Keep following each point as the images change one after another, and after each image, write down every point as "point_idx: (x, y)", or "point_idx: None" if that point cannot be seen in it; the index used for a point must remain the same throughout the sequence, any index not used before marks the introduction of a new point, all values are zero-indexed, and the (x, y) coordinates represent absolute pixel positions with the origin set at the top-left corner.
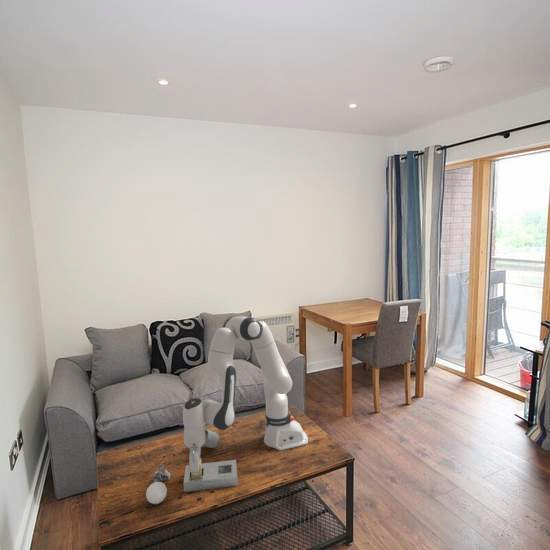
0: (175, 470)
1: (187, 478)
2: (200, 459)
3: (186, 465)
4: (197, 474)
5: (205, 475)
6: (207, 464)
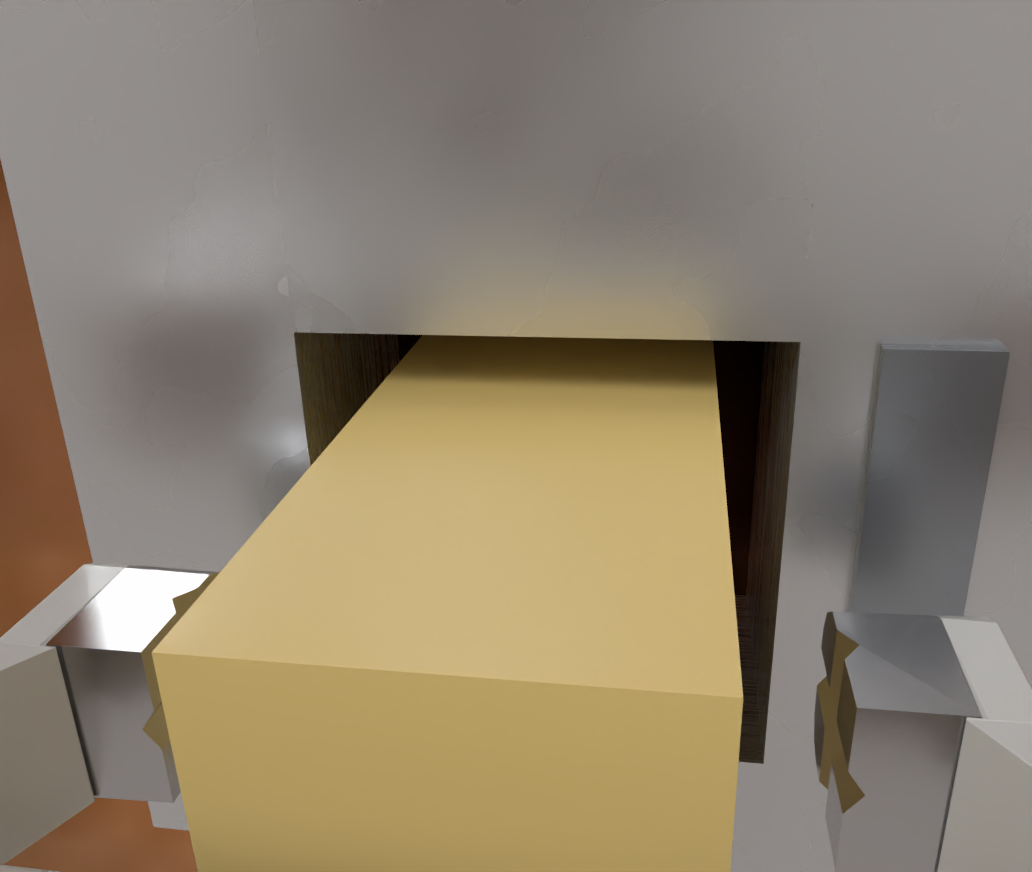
0: (137, 848)
1: (803, 815)
2: (268, 688)
3: (158, 815)
4: (993, 633)
5: (800, 247)
6: (96, 189)
